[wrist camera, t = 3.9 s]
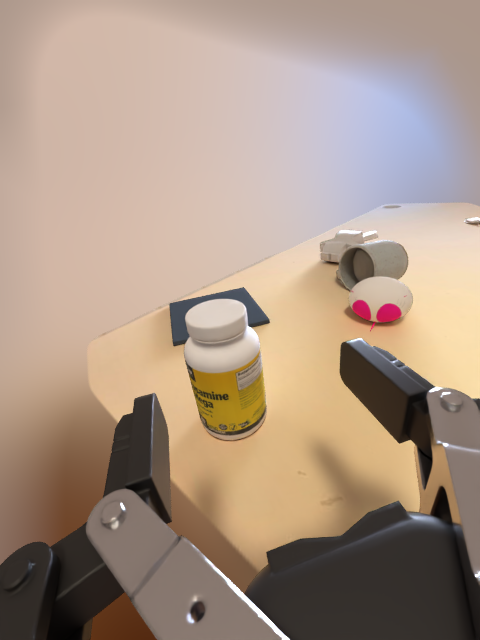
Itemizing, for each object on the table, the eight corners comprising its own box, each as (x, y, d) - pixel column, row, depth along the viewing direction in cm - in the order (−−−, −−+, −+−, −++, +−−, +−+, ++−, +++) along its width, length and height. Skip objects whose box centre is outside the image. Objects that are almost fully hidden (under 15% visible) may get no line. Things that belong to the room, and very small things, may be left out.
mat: (173, 346, 39) (172, 342, 38) (170, 306, 51) (169, 303, 50) (269, 322, 41) (269, 319, 41) (244, 290, 53) (243, 287, 53)
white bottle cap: (487, 221, 73) (488, 218, 72) (472, 223, 73) (473, 221, 72) (474, 219, 76) (475, 216, 76) (460, 221, 76) (461, 218, 76)
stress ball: (344, 339, 40) (335, 317, 35) (358, 292, 43) (352, 266, 38) (404, 350, 36) (403, 327, 31) (416, 298, 39) (417, 268, 34)
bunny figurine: (308, 244, 60) (343, 221, 68) (310, 266, 63) (343, 241, 71) (351, 248, 54) (384, 222, 62) (351, 272, 57) (382, 245, 64)
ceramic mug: (408, 285, 46) (416, 237, 42) (372, 300, 43) (377, 250, 39) (357, 271, 54) (360, 230, 51) (324, 282, 52) (324, 240, 48)
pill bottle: (188, 420, 27) (157, 318, 21) (233, 383, 30) (217, 289, 25) (235, 457, 23) (211, 342, 17) (280, 409, 26) (272, 303, 21)
